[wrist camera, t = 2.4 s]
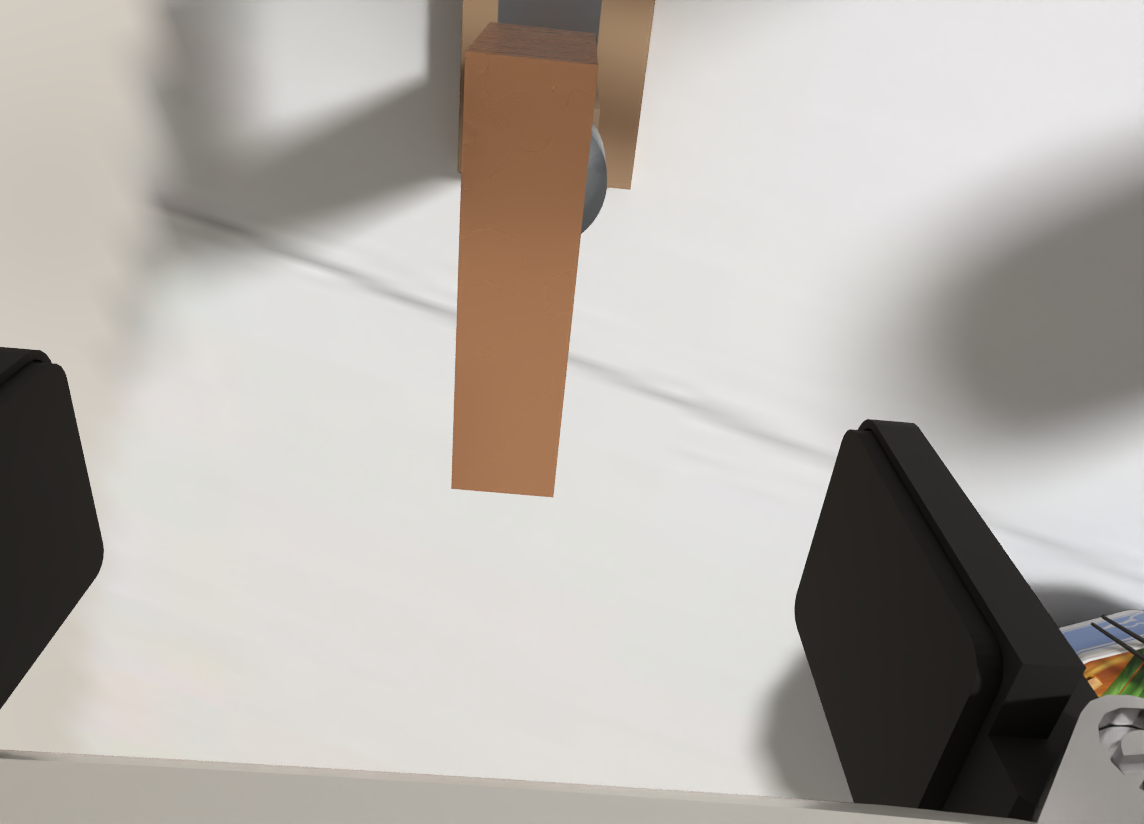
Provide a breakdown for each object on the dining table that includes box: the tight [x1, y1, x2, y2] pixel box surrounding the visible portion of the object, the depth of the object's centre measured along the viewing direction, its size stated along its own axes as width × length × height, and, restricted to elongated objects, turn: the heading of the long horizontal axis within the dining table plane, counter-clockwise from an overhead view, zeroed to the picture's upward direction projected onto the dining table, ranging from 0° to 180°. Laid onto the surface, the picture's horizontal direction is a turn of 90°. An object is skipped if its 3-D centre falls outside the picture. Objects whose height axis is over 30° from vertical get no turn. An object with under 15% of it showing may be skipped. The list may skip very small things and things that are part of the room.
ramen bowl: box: [1059, 610, 1144, 698], centre depth 47 cm, size 25×23×8 cm
